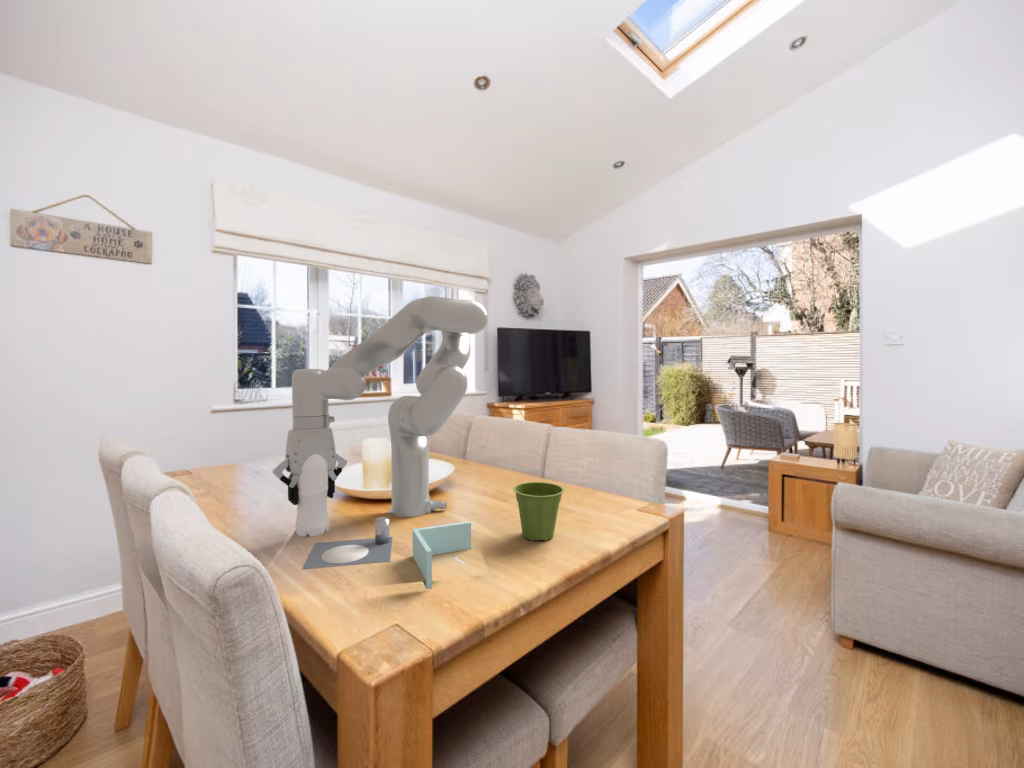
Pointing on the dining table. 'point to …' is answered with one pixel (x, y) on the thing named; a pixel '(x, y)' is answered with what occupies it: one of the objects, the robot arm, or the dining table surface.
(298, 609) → the dining table surface
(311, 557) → the board
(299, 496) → the water bottle
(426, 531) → the right angle wall
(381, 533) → the metal post
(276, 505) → the dining table surface
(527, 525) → the plant pot
